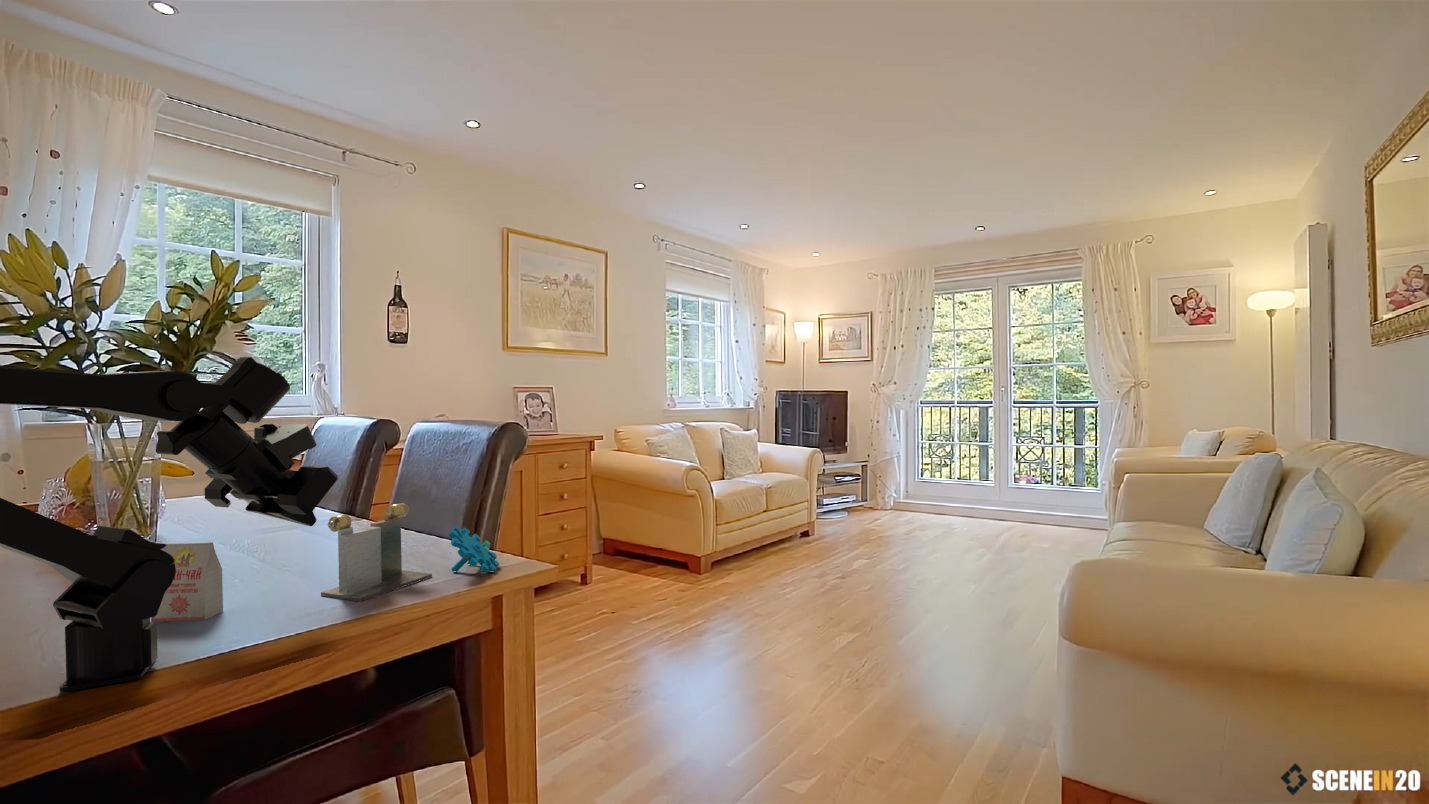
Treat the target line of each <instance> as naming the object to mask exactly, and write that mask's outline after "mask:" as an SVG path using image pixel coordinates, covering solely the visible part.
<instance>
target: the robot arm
mask: <svg viewBox="0 0 1429 804" xmlns="http://www.w3.org/2000/svg"><path fill="white" fill-rule="evenodd" d="M290 390H291V386H290V384H289V382H288V380H287V379H286V378H285V377H284V376H283V375H282V374H281V373H279V372H276V371H275V370H274V369H272V368H270V367H268V366H266V365H265V364H262V363H259V362H258V361H256V360H255V359H254V358H253V357H252V356H244V357H243V356H240V357H238V358H237V359H236V360H235V361H234V362H233V364H231V366H230V368H229V369H228V370H227V371H226V372H225V373H224V374H222V375H221V377H219V378H218V379H217V380H216V381H215V382H214V383H208V382H207V383H206V382H201V381H200V380H199V379H198V378H197V377H196V375H195V374H193V373H191V372H187V371H184V370H161V371H160V370H157V371H137V372H136V371H134V372H119V373H118V372H116V373H115V372H114V373H101V374H100V373H89V372H88V373H87V372H78V371H77V372H76V371H66V370H65V371H64V370H53V369H41V368H32V367H31V368H30V367H29V368H28V367H18V366H6V365H5V366H4V365H0V405H11V406H31V407H33V406H34V407H53V408H72V409H73V408H76V409H77V408H78V409H86V410H91V411H97V412H100V413H104V414H108V415H113V416H117V417H124V418H129V419H134V420H140V421H145V422H148V421H149V422H177V424H175V426H174V427H172V428H171V429H170V430H168V431H167V430H161V431H160V430H158V431H157V432H156V435H157V441H156V445H155V453H156V454H158V455H166V456H167V455H168V456H178V455H180V454H181V453H182V452H183V451H184V450H185V451H186V452H187V453H188V454H190V455H191V456H192V457H194V458H195V459H196V460H197V461H198V462H200V463H201V464H203V466H205V467H206V468H207V469H208V470H207V471H205V473H204V474H205V475H207V476H208V477H209V478H210V479H212V480H211V481H210V482H209V484H207V485H206V487H205V488H204V499H205V500H206V501H208V503H210V504H211V505H213V506H214V507H218V508H227V509H228V508H229V507H230V505H232V502H231V500H230V499H228V498H227V495H228V494H229V493H230V495H231V496H232V497H234V498H235V499H238V500H240V501H245V502H246V503H247V505H246V507H245V511H247V512H252V513H255V514H259V515H263V516H266V517H272V518H275V519H280V520H284V521H287V522H291V523H295V524H299V525H303V526H307V527H313V526H314V525H315V524H316V523H317V517H316V516H315V513H314V510H315V509H316V507H317V506H318V505H319V504H320V503H321V501H322V500H323V498H324V497H325V496H326V495H327V494H328V492H329V491H330V490H331V488H332V487H333V486H334V484H336V482H337V481H339V480H338V479H339V476H338V474H336V472H334V470H332V468H330V466H322V465H321V466H320V465H306V466H305V465H304V466H300V467H299V468H298V470H291V469H292V467H294V465H295V464H296V463H295V461H293V460H292V459H294V458H296V457H298V456H299V455H301V454H302V453H305V452H306V451H308V450H312V449H314V448H316V446H317V443H316V440H315V438H314V436H313V434H312V432H311V429H310V428H309V425H308V424H307V423H289V424H284V425H283V424H280V425H278V426H277V425H275V424H274V423H265V422H264V423H261V424H259V425H257V426H255V427H254V428H253V429H254V431H253V432H254V434H253V435H254V438H253V437H252V436H251V435H250V434H248V433H247V432H246V430H244V429H243V428H242V427H241V426H240V425H239V424H241V425H245V424H246V423H247V422H248V423H251V424H252V423H253V424H258V423H260V422H261V421H262V419H263V418H265V416H267V414H268V413H269V412H270V411H271V410H273V408H274V407H275V406H276V405H277V404H278V403H279V402H280V401H281V400H282V399H283V398H284V397H285V395H287V394H288V392H290ZM163 543H164V542H163ZM163 543H161V542H155V541H149V540H148V539H147V538H144V537H143V536H142V535H140V534H139V533H137V532H135V531H133V530H131V529H128V528H121V527H113V526H105V525H98V526H97V528H96V530H94V533H93V535H92V534H89V533H87V532H85V531H82V530H80V529H77V528H74V527H72V526H70V525H67V524H65V523H63V522H60V521H57V520H55V519H53V518H51V517H48V516H45V515H43V514H41V513H38V512H36V511H34V510H31V509H29V508H27V507H24V506H21V505H19V504H16V503H14V502H12V501H9V500H7V499H4V498H1V497H0V548H1V549H5V550H8V551H10V552H14V553H16V554H18V555H22V556H25V557H27V558H30V559H33V560H35V561H38V562H41V563H43V564H47V565H48V566H49V567H51V568H53V569H54V570H55V571H57V572H58V573H59V574H60V575H61V576H63V577H64V578H65V579H67V580H68V581H70V582H72V583H71V584H70V585H69V586H68V587H67V589H65V590H64V591H63V592H62V593H61V594H60V595H59V596H58V597H57V598H56V600H54V601H53V603H52V606H53V608H54V610H55V612H56V613H57V615H58V617H59V619H60V620H63V621H70V622H69V623H68V624H67V625H65V627H64V643H65V644H64V645H65V646H64V647H65V674H66V675H65V679H66V680H65V681H64V682H63V683H61V685H59V686H58V688H59V689H58V691H59V692H62V693H63V692H68V691H69V692H70V691H73V690H74V691H75V690H81V689H86V688H93V687H98V686H99V687H100V686H105V685H110V684H118V683H123V682H129V681H135V680H139V679H141V678H143V677H144V675H145V674H146V673H147V671H148V670H149V669H150V667H152V665H153V664H154V662H156V660H157V658H158V657H159V656H158V627H157V626H158V625H157V624H158V623H156V622H151V617H155V616H156V615H157V613H158V610H159V608H160V605H161V602H162V599H163V597H164V594H165V591H166V590H167V589H168V588H169V587H170V586H171V584H172V582H173V580H174V578H175V572H176V567H175V559H174V558H173V557H172V556H171V555H170V554H168V553H167V552H165V551H163V550H160V549H162V548H164V547H165V546H166V544H163Z"/></svg>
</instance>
